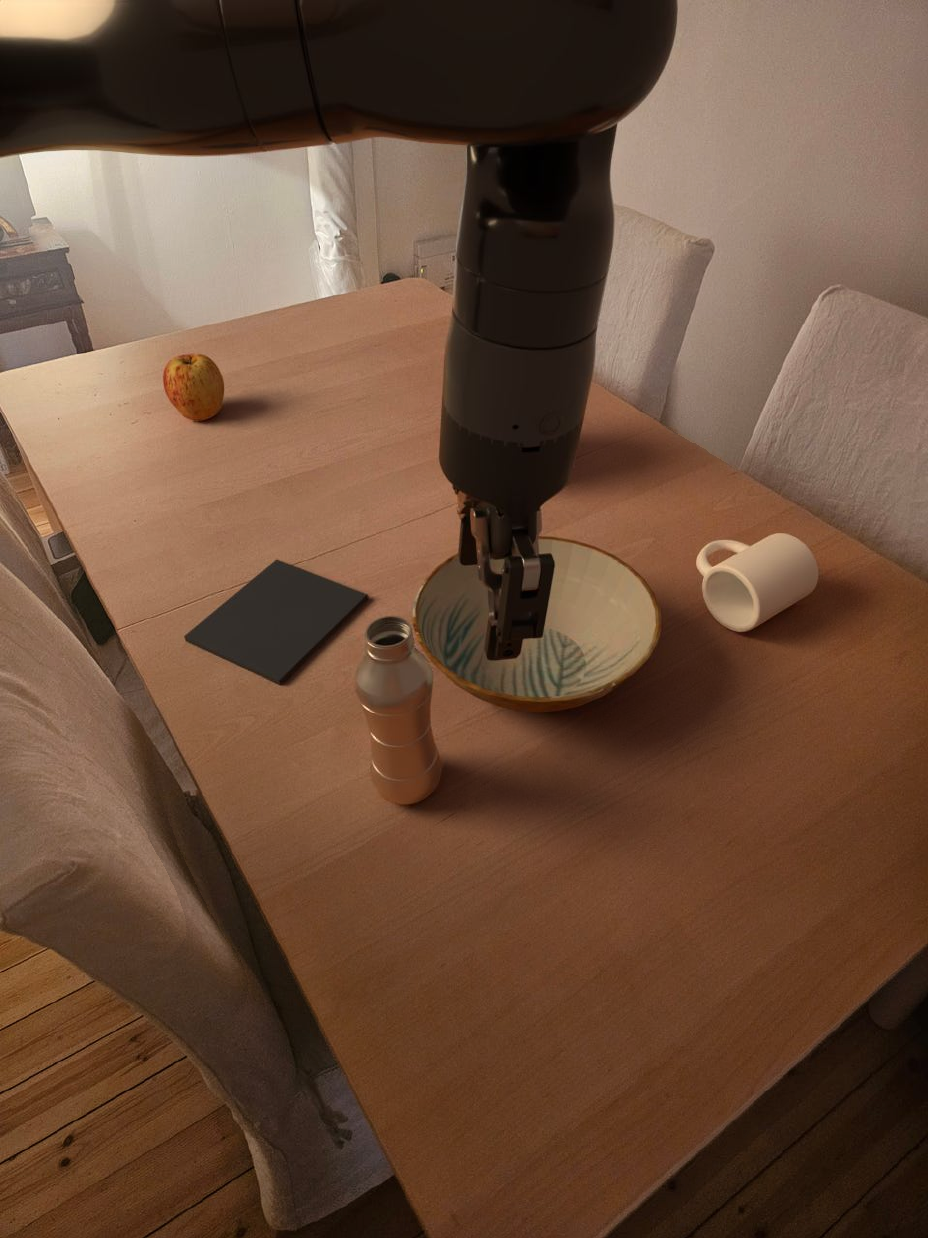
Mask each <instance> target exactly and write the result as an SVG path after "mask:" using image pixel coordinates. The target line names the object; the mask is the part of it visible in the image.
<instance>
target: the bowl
mask: <svg viewBox="0 0 928 1238" xmlns="http://www.w3.org/2000/svg"><path fill="white" fill-rule="evenodd" d="M538 542H539V554H545V553H551V554H552V556H553V559H554V561H555V568H554V575H553V580H552V586H551V592H550V598H549V603H548V609H547V615H546V620H545V626H544V632H543V637H542V638H535V639H533V638H530V639H523V643H522V649H521V653H520V655H519V656H518V657H517V658H515V659H506V660H497V661H495V660H494V661H491V660H488V659H487V657H486V653H485V650H484V647H485V639H486V632H487V624H488V612H489V605H488V589H487V587H486V586H485V585H483V584H481V583H480V581H479V578H478V565H468V566H464V565H462V564H461V563H460V560H459V557H458V552H457V553H455V554H453V555H451V556H450V557H449V558H447V559H446V560H444V561H443V562H442V563H440V564H439V565H437V566H436V567H435V568H434V569H433V570H432V572H431V573H430V574H429V575H428V576H426V578H425V579H424V581H423V582H422V584H421V586H420V587H419V590H418V591H417V593H416V595H415V600H414V602H413V607H412V627H413V630H414V633H415V637H416V638H417V639H416V640H417V642H418V644H419V645H420V647H421V648H422V650H423V651H424V653H425V654H426V656H427V657H428V659H429V660H430V661H431V663H433V665H434V666H435V667H436V668H437V669H438V670H439V671H440V672H442V673H443V674H444V675H445V676H446V677H447V678H448V679H449V680H450V681H451V682H452V683H453V684H454V685H455V686H457V687H458V688H460V689H462V690H463V691H465V692H467V693H468V694H470V695H472V696H473V697H475V698H477V699H479V700H481V701H483V702H485V703H488V704H491V705H493V706H496V707H499V708H504V709H507V710H513V711H517V712H528V713H545V712H546V713H549V712H561V711H564V710H568V709H573V708H578V707H581V706H583V705H585V704H588V703H591V702H593V701H595V700H598V699H600V698H602V697H605V696H607V695H608V694H609V693H611V692H612V691H614V690H615V689H617V688H618V687H620V686H621V685H622V684H624V683H625V682H627V681H628V680H629V679H630V678H631V677H632V676H633V675H634V674H635V673H636V672H637V671H638V670H639V669H641V667H642V666H643V665H644V664H645V663H646V662H647V661H648V660H649V658H650V657H651V655H652V654H653V651H654V650H655V648H656V646H657V644H658V643H659V638H660V634H661V630H662V615H661V614H662V613H661V608H660V607H661V606H659V601H658V599H657V596H656V594H655V592H654V591H653V590H652V588H651V586H650V585H649V583H648V581H646V579H645V578H644V577H643V576H642V575H641V574H640V573H639V572H638V571H636V569H634V568H633V567H632V566H631V565H630V564H628V563H627V562H625V561H624V560H622V559H621V558H619V557H617V556H616V555H615V554H613V553H610V552H608V551H606V550H604V549H601V548H599V547H597V546H594V545H591V544H587V543H584V542H581V541H578V540H575V539H569V538H563V537H557V536H547V535H539V536H538ZM504 560H505V559H501V560H494V559H491V560H490V563H491V569H492V571H501V569H502V568H503V564H504ZM500 594H501V589H500Z"/></svg>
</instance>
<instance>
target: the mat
mask: <svg viewBox="0 0 928 1238" xmlns="http://www.w3.org/2000/svg"><path fill="white" fill-rule="evenodd" d="M368 600H369V596H368V594H367V593H364V592H362V591H359V590H358V589H355V588H352V587H349V586H348V585H347V586H346V585H344V584H342V583H339V582H336V581H334V580H331V579H329V578H326V577H324V576H321V575H318V574H316V573H314V572H311V571H308V570H305V569H303V568H300V567H298V566H295V565H293V564H290V563H289V562H288V563H287V562H285V561H282V560H280V559H275V560H274V561H272V562H271V563H270V564H269V565H268V566H266V567H265V568H264V569H263V570H262V571H261V572H259V573H257V575H256V576H255V577H253V578H252V579H251V580H250V581H248V582H247V583H246V584H245V585H244V586H243V587H241V588H240V589H239V590H237V592H235V593H233V595H231V597H229V598H228V599H227V600H225V601H224V602H223V603H222V604H221V605H220V606H219V607H217V608H216V609H215V610H214V611H213V612H211V613H210V614H209V615H208V616H207V617H205V618H204V619H202V620H201V622H200V623H197V625H196V626H194V627H193V628H192V629H191V630H190V631H188V632H187V633H186V634H185V635H184V636H183V637H184V638H183V639H185V642H187V643H189V644H191V645H193V646H196V647H197V648H199V649H202V650H204V651H206V652H208V653H210V654H213V655H215V656H217V657H219V658H221V659H223V660H225V661H227V662H230V663H232V664H234V665H235V666H238V667H240V668H243V669H245V670H247V671H249V672H251V673H253V674H255V675H257V676H259V677H261V678H264V679H266V680H269V681H270V682H273V683H275V684H277V685H279V686H282V685H283V684H284V683H285V682H286V680H288V679H289V678H290V677H292V675H293V674H294V673H295V672H296V671H297V670H298V669H299V668H300V667H301V666H302V665H303V664H304V663H305V662H306V661H307V660H308V659H309V658H310V657H311V656H312V655H313V654H315V652H316V651H317V650H319V648H320V647H321V646H322V645H324V644H325V642H327V640H328V639H329V638H331V636H333V635H334V634H335V632H336V631H338V630H339V629H340V628H341V627H342V625H344V623H346V622H347V621H348V620H349V619H350V618H351V617H352V616H353V615H354V614H355V613H356V612H357V611H358V610H359V609H360V608H361V607H362V606H363V605H364V604H365V603H366V602H367V601H368Z"/></svg>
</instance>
